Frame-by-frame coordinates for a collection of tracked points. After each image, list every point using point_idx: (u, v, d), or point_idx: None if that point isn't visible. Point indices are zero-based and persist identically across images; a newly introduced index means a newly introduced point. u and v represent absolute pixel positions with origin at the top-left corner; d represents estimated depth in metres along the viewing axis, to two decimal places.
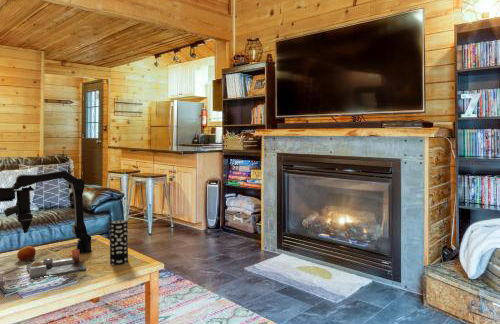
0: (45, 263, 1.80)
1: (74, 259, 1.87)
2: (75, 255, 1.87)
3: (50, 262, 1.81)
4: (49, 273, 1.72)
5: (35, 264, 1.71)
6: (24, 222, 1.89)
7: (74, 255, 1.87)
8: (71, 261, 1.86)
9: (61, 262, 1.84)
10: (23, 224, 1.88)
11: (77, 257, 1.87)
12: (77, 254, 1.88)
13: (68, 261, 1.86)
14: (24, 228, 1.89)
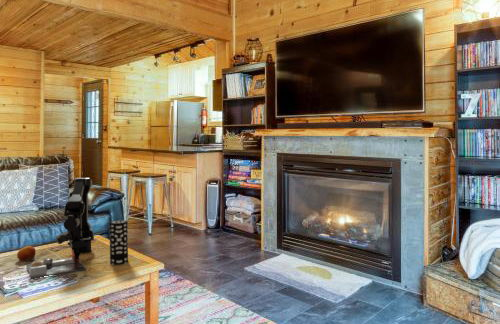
0: (45, 263, 1.80)
1: (74, 259, 1.87)
2: None
3: (50, 262, 1.81)
4: (49, 273, 1.72)
5: (35, 264, 1.71)
6: (76, 248, 1.86)
7: None
8: (71, 261, 1.86)
9: (61, 262, 1.84)
10: (75, 250, 1.85)
11: None
12: None
13: (68, 261, 1.86)
14: (76, 254, 1.86)
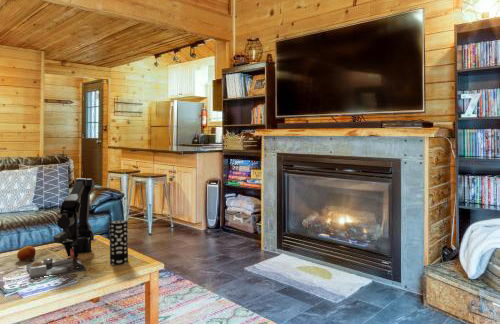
0: (46, 263, 1.80)
1: (73, 258, 1.89)
2: None
3: (51, 262, 1.81)
4: (49, 273, 1.72)
5: (35, 264, 1.71)
6: (76, 246, 1.89)
7: (73, 254, 1.89)
8: (70, 260, 1.88)
9: (61, 261, 1.85)
10: (75, 248, 1.88)
11: None
12: None
13: (67, 260, 1.87)
14: (76, 252, 1.89)
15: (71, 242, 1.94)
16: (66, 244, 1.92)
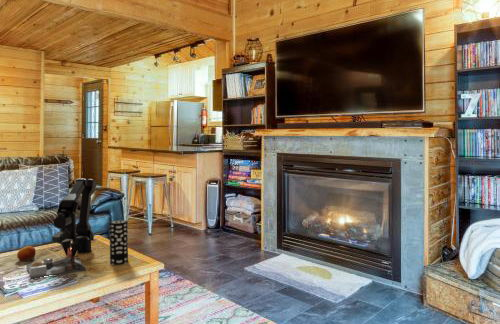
0: (47, 263, 1.80)
1: (71, 257, 1.91)
2: None
3: (51, 261, 1.82)
4: (49, 273, 1.72)
5: (35, 264, 1.71)
6: (74, 245, 1.90)
7: (71, 253, 1.91)
8: (68, 259, 1.90)
9: (60, 261, 1.86)
10: (73, 247, 1.90)
11: None
12: None
13: (66, 259, 1.89)
14: (74, 251, 1.91)
15: (69, 241, 1.95)
16: (64, 244, 1.92)
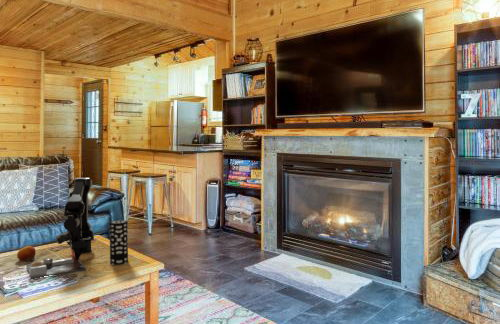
0: (45, 263, 1.80)
1: (74, 258, 1.88)
2: None
3: (50, 262, 1.81)
4: (49, 273, 1.72)
5: (35, 264, 1.71)
6: (76, 249, 1.84)
7: (74, 255, 1.88)
8: (71, 260, 1.87)
9: (61, 262, 1.84)
10: (75, 251, 1.84)
11: None
12: None
13: (68, 261, 1.86)
14: (76, 255, 1.85)
15: None
16: None
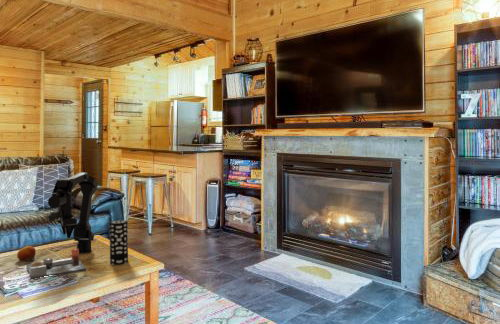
0: (45, 263, 1.80)
1: (74, 258, 1.88)
2: (75, 255, 1.88)
3: (50, 262, 1.81)
4: (49, 273, 1.72)
5: (35, 264, 1.71)
6: (68, 227, 1.87)
7: (74, 255, 1.88)
8: (71, 260, 1.87)
9: (61, 262, 1.84)
10: (67, 229, 1.86)
11: (76, 257, 1.88)
12: (77, 253, 1.89)
13: (68, 261, 1.86)
14: (68, 233, 1.87)
15: None
16: (61, 222, 1.95)
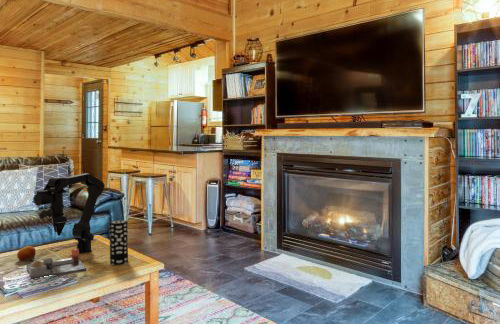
0: (45, 263, 1.80)
1: (74, 258, 1.88)
2: (75, 255, 1.88)
3: (50, 262, 1.81)
4: (49, 273, 1.72)
5: (35, 264, 1.71)
6: (58, 224, 1.90)
7: (74, 255, 1.88)
8: (71, 260, 1.87)
9: (61, 262, 1.84)
10: (57, 226, 1.90)
11: (76, 257, 1.88)
12: (77, 253, 1.89)
13: (68, 261, 1.86)
14: (58, 230, 1.91)
15: None
16: None
